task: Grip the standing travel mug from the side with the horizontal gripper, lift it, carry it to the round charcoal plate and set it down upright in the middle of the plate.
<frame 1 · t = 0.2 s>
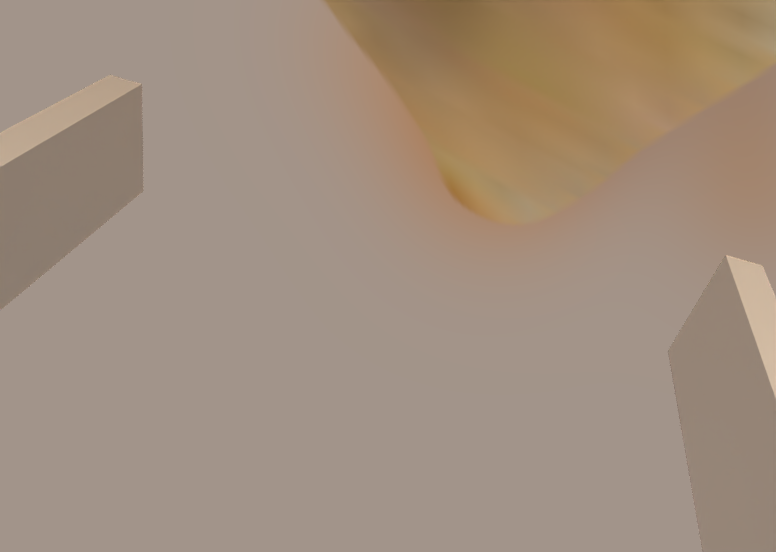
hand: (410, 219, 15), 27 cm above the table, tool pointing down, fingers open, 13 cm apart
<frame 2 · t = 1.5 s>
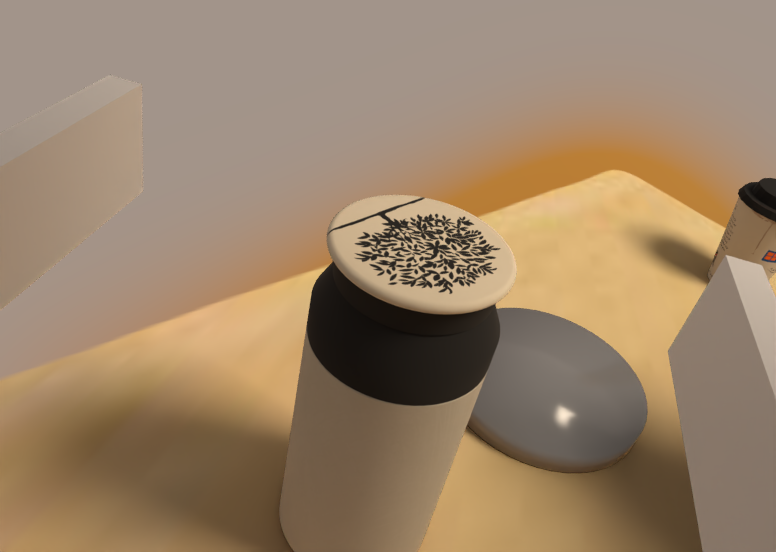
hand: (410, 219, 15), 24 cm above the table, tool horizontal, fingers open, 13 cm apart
coffee cup: (730, 284, 64), on the table
travel mug: (352, 516, 37), on the table
charcoal plate: (539, 389, 47), on the table
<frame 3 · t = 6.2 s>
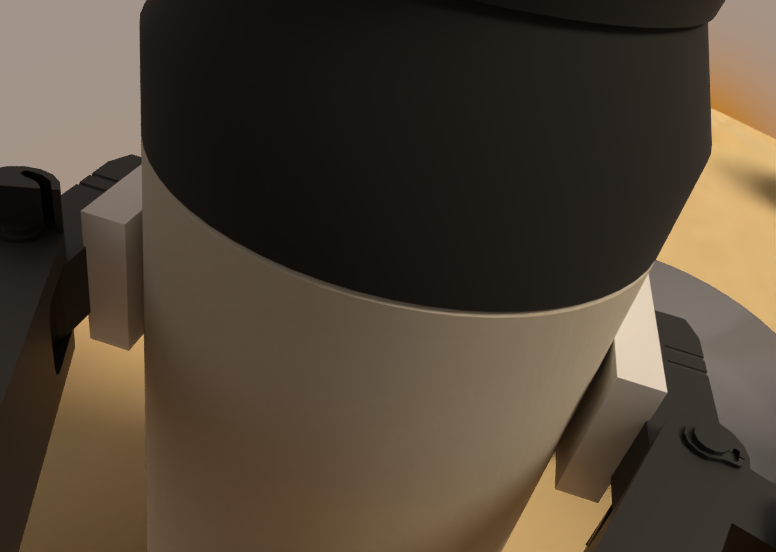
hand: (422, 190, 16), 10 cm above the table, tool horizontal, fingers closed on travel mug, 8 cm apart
charcoal plate: (633, 365, 29), on the table
when the fingers open (12 cm above the table, at t = 10.1 s): travel mug stays where it is, resting on charcoal plate.
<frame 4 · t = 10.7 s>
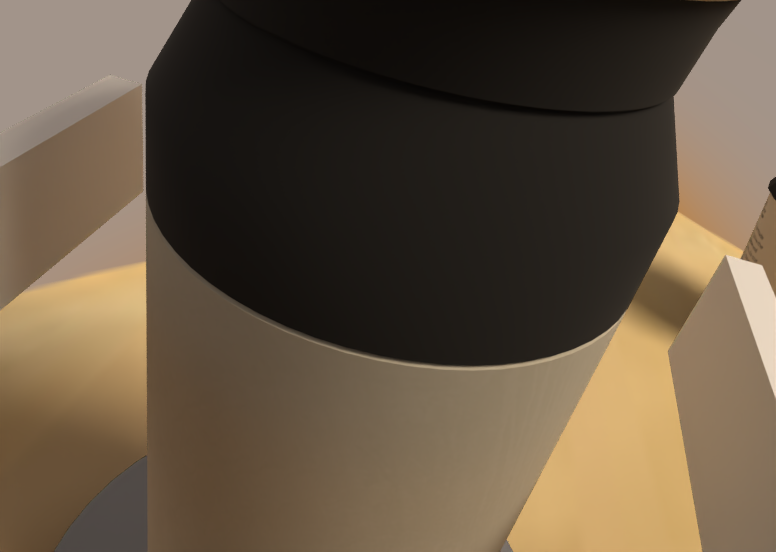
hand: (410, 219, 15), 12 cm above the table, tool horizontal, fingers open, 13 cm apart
coffee cup: (749, 351, 36), on the table
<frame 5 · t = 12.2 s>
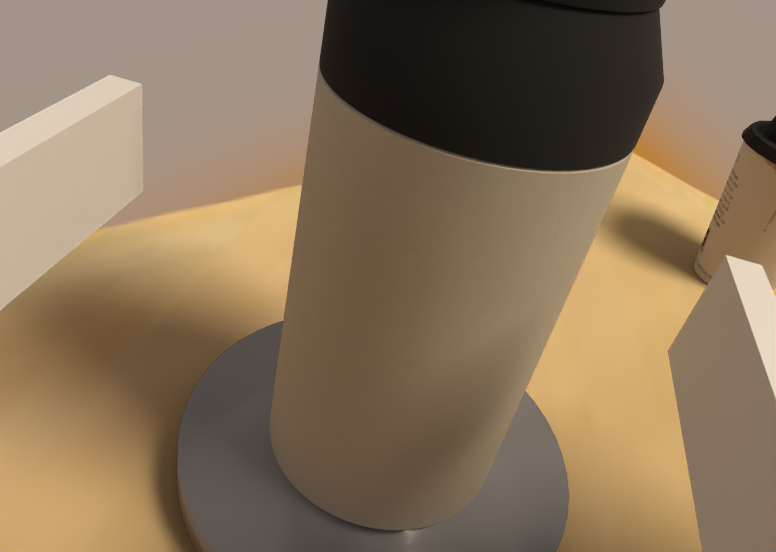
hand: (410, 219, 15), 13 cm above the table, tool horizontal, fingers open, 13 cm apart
coffee cup: (728, 281, 42), on the table
travel mug: (378, 440, 25), point 1 cm above the table, touching charcoal plate
charcoal plate: (372, 463, 25), on the table
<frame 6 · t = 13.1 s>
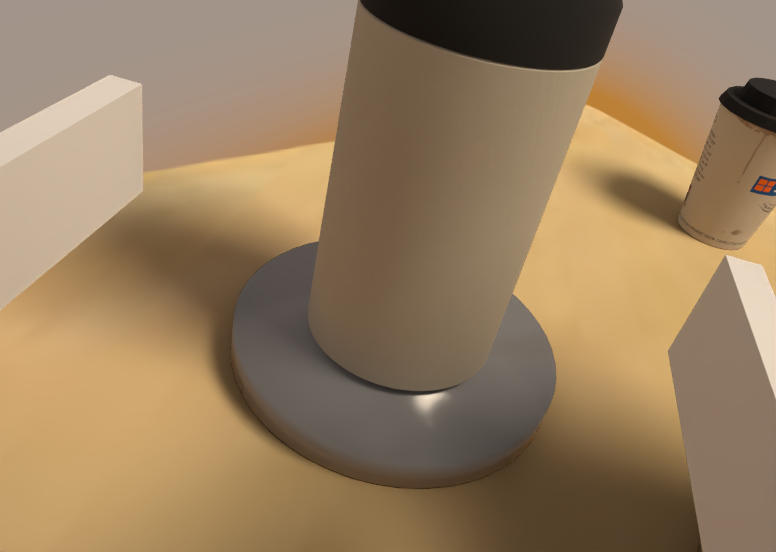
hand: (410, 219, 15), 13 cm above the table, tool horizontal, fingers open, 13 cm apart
coffee cup: (709, 233, 47), on the table
travel mug: (397, 332, 29), point 1 cm above the table, touching charcoal plate
charcoal plate: (391, 354, 30), on the table
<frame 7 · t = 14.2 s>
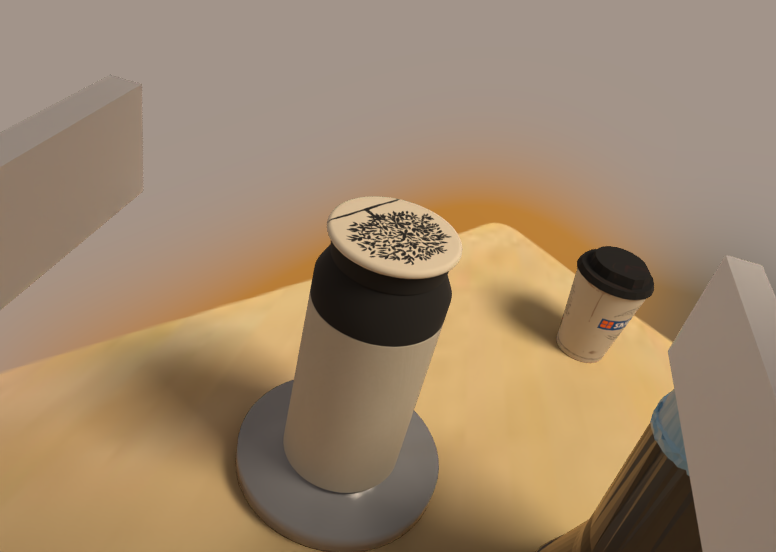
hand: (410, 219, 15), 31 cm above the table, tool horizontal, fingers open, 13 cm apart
coffee cup: (578, 347, 65), on the table
travel mug: (339, 448, 47), point 1 cm above the table, touching charcoal plate
charcoal plate: (337, 461, 48), on the table
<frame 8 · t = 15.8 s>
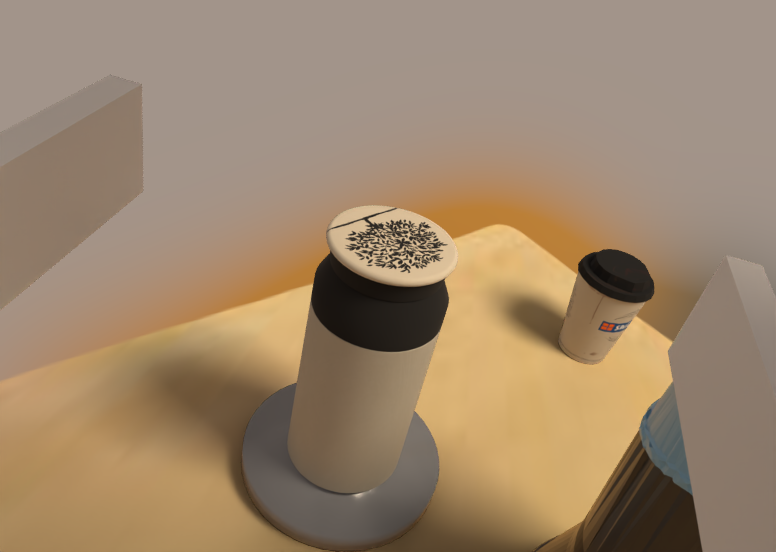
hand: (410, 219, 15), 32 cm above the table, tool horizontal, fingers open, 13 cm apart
coffee cup: (580, 349, 66), on the table
travel mug: (342, 450, 48), point 1 cm above the table, touching charcoal plate
charcoal plate: (340, 462, 49), on the table
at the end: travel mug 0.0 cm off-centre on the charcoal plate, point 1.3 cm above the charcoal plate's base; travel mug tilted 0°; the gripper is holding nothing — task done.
